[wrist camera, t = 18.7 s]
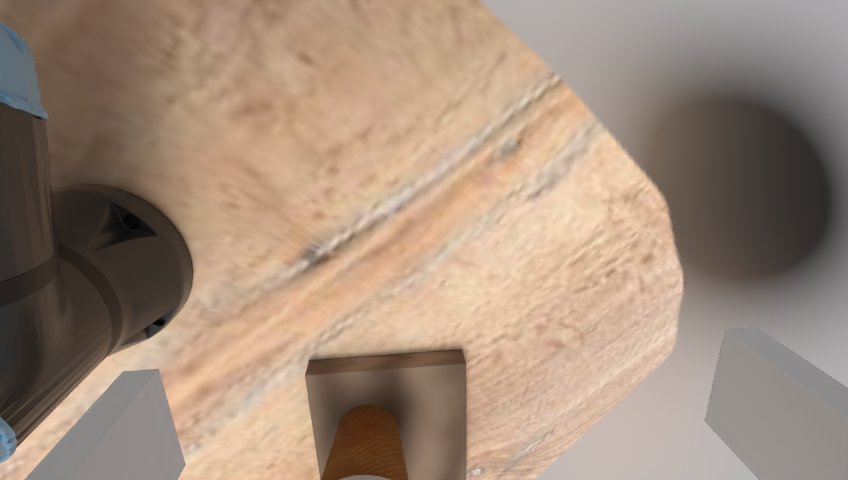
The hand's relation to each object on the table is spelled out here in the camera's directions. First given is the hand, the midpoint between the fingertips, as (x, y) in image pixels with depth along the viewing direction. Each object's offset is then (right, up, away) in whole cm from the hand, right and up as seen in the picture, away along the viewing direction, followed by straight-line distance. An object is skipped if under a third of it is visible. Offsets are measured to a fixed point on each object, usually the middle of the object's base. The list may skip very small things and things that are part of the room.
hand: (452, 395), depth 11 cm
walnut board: (-4, -16, +39) cm, 42 cm away
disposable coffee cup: (-6, -16, +36) cm, 40 cm away
